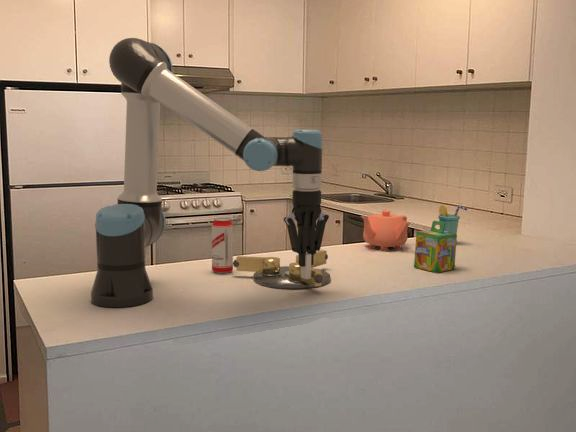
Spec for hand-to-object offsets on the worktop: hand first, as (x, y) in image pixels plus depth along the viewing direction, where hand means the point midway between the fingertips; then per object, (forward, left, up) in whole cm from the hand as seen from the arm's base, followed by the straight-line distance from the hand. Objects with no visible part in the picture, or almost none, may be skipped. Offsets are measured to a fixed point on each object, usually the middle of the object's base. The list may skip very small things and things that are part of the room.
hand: (305, 277), depth 169 cm
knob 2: (+14, +17, -2) cm, 22 cm away
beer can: (-10, +31, -4) cm, 32 cm away
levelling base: (+4, +13, -4) cm, 14 cm away
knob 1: (-4, +20, -2) cm, 20 cm away
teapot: (+56, +34, -4) cm, 66 cm away
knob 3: (+2, +3, -2) cm, 4 cm away
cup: (+82, +28, -4) cm, 86 cm away
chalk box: (+49, +3, -4) cm, 50 cm away
